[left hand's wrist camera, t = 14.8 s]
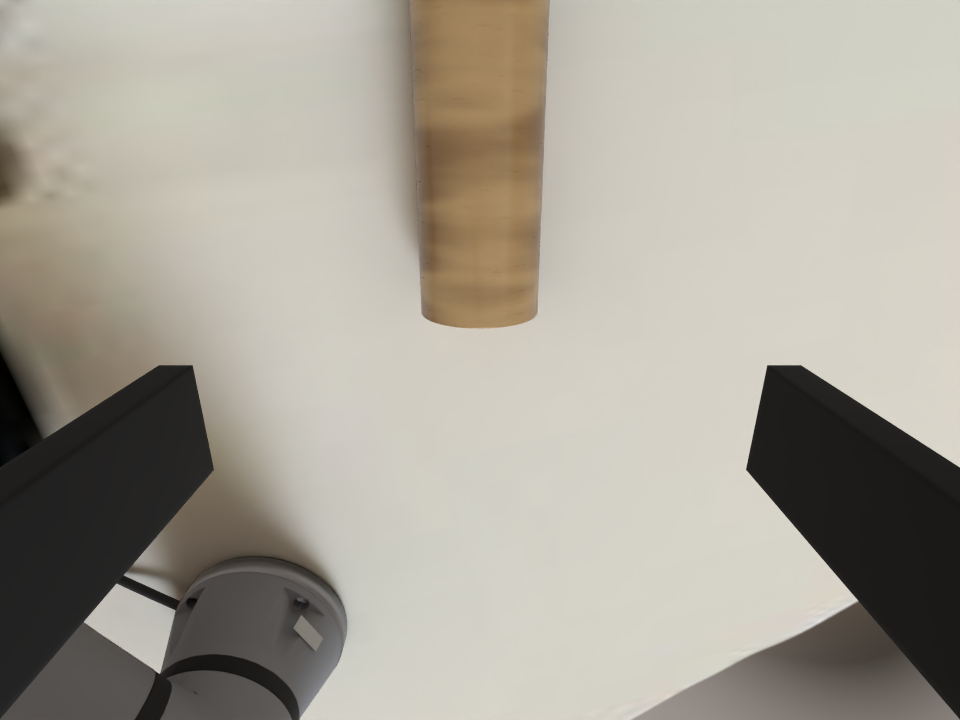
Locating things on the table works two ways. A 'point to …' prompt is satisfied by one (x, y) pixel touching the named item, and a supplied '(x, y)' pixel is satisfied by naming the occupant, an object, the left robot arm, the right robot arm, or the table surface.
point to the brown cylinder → (479, 157)
